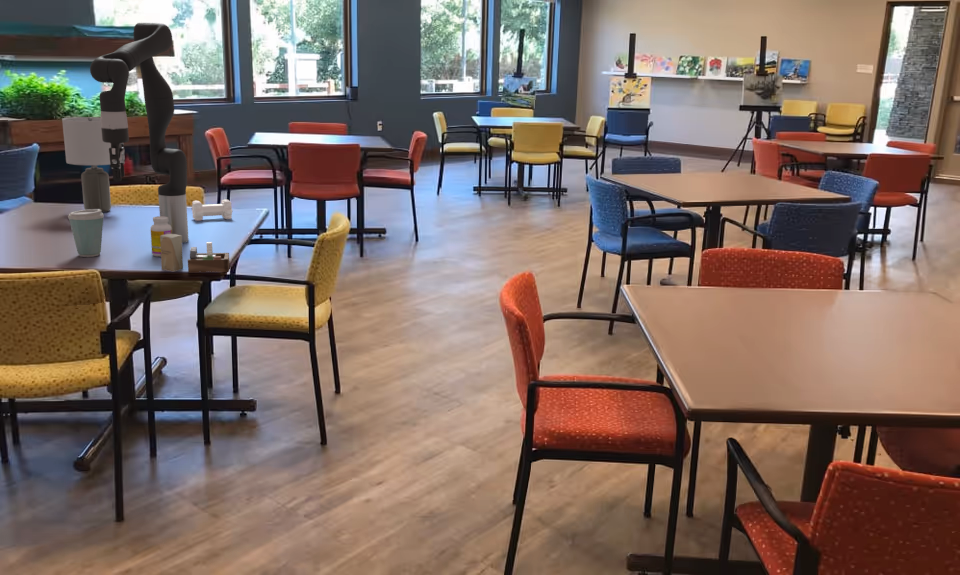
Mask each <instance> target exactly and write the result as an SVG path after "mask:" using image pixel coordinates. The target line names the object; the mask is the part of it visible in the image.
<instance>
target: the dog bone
mask: <svg viewBox="0 0 960 575" xmlns="http://www.w3.org/2000/svg"><path fill="white" fill-rule="evenodd" d="M191 205H192V206H191V211H192V213H191V214H192V218H193V220H195V221H196V222H201V221H203V219H204V217H213V216H214V217H215V216H221V217H222V218H223V219H224V220H231V219H232V218H233V216H232V215H233V211H234V210H233V209H232V201H230V200H229V199H221V202H220V203H216V204H213V203H212V204H203V203H202V202H201V201H199V200H193V201H192V203H191Z"/></svg>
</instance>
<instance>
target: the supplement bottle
mask: <svg viewBox="0 0 960 575" xmlns="http://www.w3.org/2000/svg"><path fill="white" fill-rule="evenodd" d="M152 222H153V224H152V225H151V226H150V239H151V240H150V243H151V254H152V256H154V257H158V258H161V242H160V236H161V235H165V234H172V227H171V226H170V225H169V224H168V217H165V216H160V215H158V216H153V217H152Z"/></svg>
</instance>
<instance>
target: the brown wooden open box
mask: <svg viewBox="0 0 960 575" xmlns="http://www.w3.org/2000/svg"><path fill="white" fill-rule="evenodd" d="M197 255H207V252H202V253H201V252H199V253H198V252H197ZM213 255H216V256H214V259H213V256H204V257H203V259H190V258H188V259H187V269H188V270H187V272H188V273H189V274H193V273H197V274H198V273H229V272H230V252H213Z"/></svg>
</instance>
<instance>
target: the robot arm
mask: <svg viewBox="0 0 960 575" xmlns="http://www.w3.org/2000/svg"><path fill="white" fill-rule="evenodd" d="M172 45H173V34H172V30H171V29H170V27H169V26H168V25H167V24H164V23H160V22H137V23H136V24H135V25H134V28H133V41H132V42H129V43H125V44H124V45H122V46H120V47H119V48H117V49H116V50H114V52H111V53H107V54H103V55H101V56H98V57H96V58H95V59H94V60H92V62H91V63H90V67H89V72H90V75H91V77H92V79H93V80H95V81H96V82H98V83H103V84H105V83H106V84H112V87H111V89H110V90H104V91H101V92H100V94H99V107H100V118H101V130H102V140H103V142H106V143H111V148H109V154H110V165H109V167H110V169H111V171H112V179H113V182H121V181H122V178H124V177H125V163H126V162H125V161H126V158H125V147H124V145H125V144H126V143H128V142H129V141H130V136H129V135H130V134H129V133H130V132H129V124H128V123H129V122H128V117H127V111H126V110H127V108H126V101H125V100H126V92H127V87H128V81H129V77H130V72H131V71H132V70H134V69H135V68H136V67H138V66H139V69H140V75H141V80H142V87H143V97H144V98H143V99H144V104H145V110H146V118H147V124H148V126H147V127H148V136H149V156H150V157H149V158H150V165H151V168H152V170H153V171H154V173H156V174H158V175H165V176H169V181H168V182H167V183H163V184H161V185H159V186H158V187H157V192H158V194H157V195H158V206H159V208H158V209H159V216H165V217H168V224H169V225H170V226H171V227H172V234H176V235H182V244H183V243H188V242H189V241H190V240H189V226H188V221H189V220H188V210H187V209H188V207H187V206H188V205H187V190H186V189H187V186H188V161H187V156H186V154H185V152H184V151H183V150H181V149H177V148H168V147H167V146H166V145H167V144H166V134H167V133H166V132H167V130H168V129H167V128H169V125H170V124H171V121H172V118H173V116H174V114H175V102H174V95H173V91H172V88H171V87H170V85H169V84H168V82H167V81H166V79H165V78H164V76H163V75H162V74H161V72H160V71H159V70H158V67H157V66H156V64H155V61H154V58H153V57H154V56H158V55H159V54H162V53H165V52H167V51H168V50H170V48H171V47H172ZM114 163H116V164H114Z"/></svg>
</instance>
